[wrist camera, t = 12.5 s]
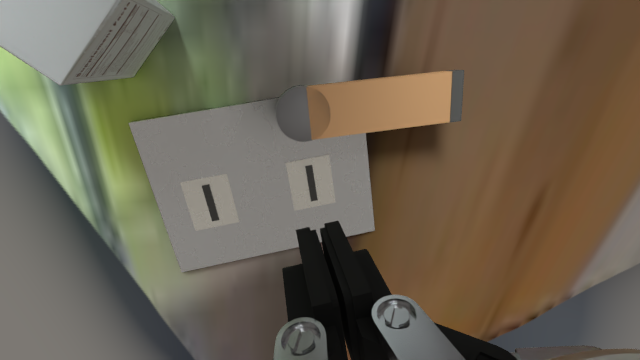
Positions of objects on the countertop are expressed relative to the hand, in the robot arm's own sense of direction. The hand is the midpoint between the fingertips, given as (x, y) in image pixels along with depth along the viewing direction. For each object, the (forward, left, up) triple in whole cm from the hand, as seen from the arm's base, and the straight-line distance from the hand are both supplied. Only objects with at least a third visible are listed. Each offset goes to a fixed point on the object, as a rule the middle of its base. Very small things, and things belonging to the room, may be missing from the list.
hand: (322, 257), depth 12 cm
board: (+5, -3, -25) cm, 26 cm away
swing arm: (-2, +9, -22) cm, 24 cm away
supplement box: (-13, -13, -25) cm, 31 cm away
